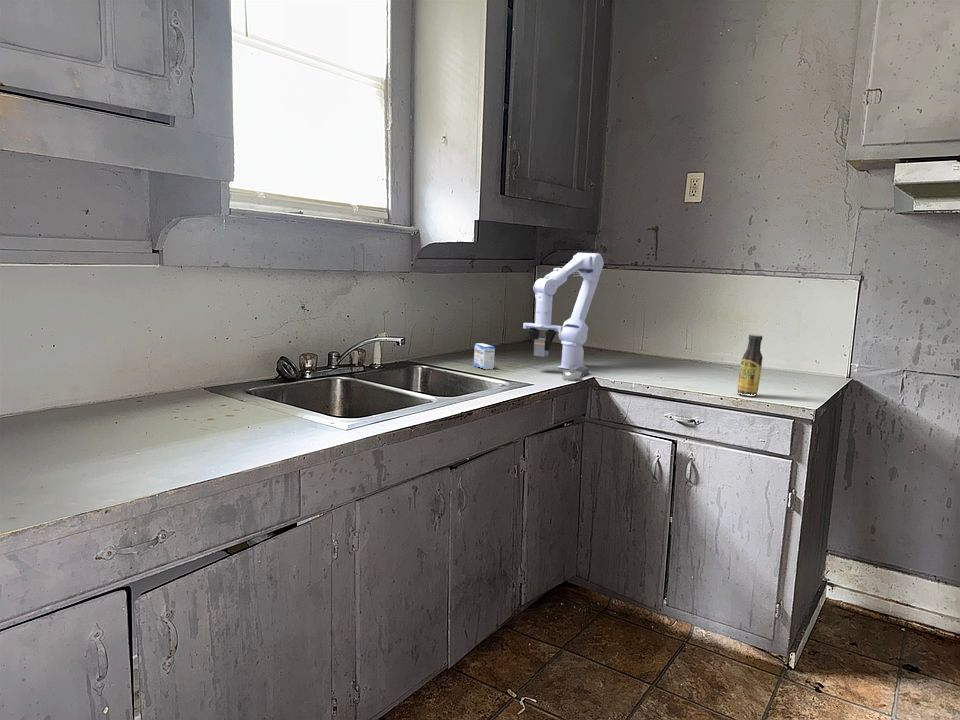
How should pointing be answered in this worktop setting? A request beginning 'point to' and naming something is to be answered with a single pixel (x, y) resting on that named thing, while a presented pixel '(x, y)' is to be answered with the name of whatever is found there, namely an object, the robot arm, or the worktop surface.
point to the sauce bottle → (751, 366)
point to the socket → (540, 347)
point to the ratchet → (574, 373)
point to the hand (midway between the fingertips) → (541, 349)
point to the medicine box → (484, 356)
